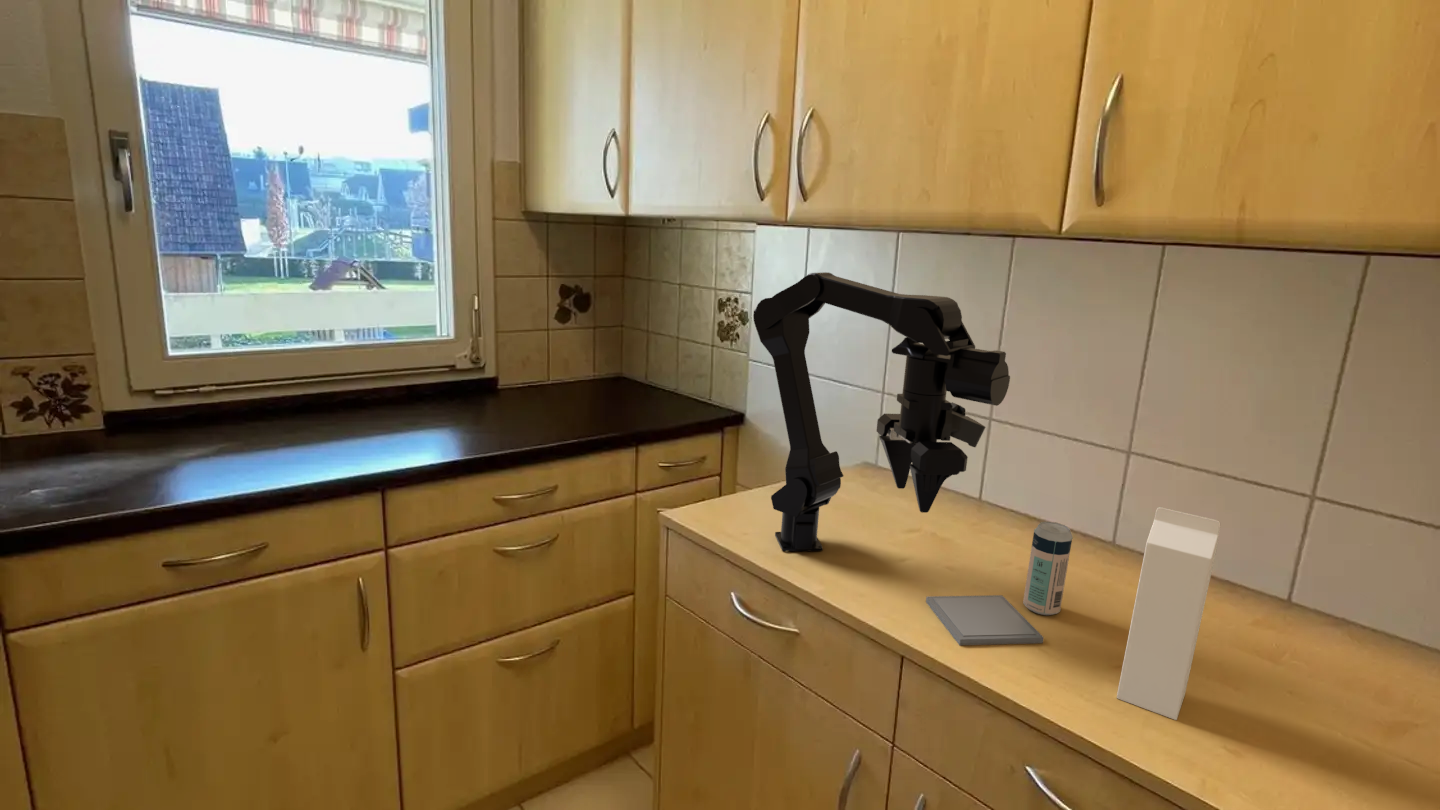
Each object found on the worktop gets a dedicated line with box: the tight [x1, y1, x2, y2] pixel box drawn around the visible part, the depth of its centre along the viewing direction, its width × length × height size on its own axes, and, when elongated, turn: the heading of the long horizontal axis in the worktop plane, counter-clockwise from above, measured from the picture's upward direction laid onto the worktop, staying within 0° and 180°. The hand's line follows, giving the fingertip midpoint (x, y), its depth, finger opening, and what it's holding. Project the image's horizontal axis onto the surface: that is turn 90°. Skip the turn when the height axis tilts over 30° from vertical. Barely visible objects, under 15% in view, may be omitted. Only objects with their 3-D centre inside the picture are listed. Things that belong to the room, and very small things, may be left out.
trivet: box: [925, 594, 1044, 646], centre depth 102 cm, size 11×11×1 cm
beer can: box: [1022, 520, 1074, 616], centre depth 105 cm, size 5×5×12 cm
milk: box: [1116, 506, 1221, 721], centre depth 84 cm, size 6×6×22 cm
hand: (911, 499), depth 108 cm, fingers open, 9 cm apart
